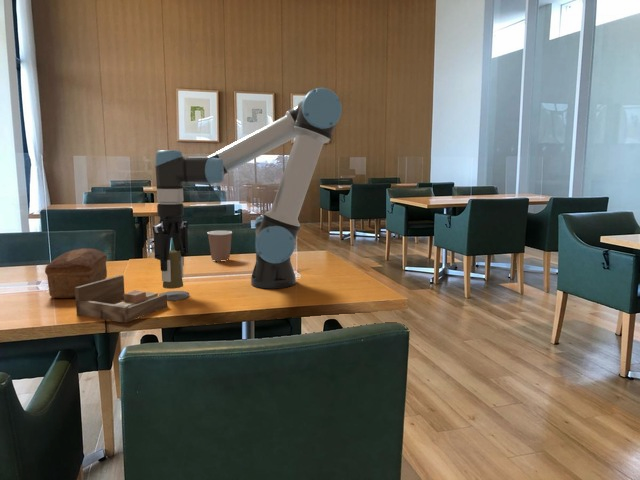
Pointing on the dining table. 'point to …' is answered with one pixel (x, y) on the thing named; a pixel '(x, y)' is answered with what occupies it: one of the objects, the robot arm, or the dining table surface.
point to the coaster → (176, 295)
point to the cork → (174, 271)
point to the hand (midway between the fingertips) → (172, 279)
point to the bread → (75, 271)
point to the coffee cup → (220, 244)
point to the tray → (112, 301)
